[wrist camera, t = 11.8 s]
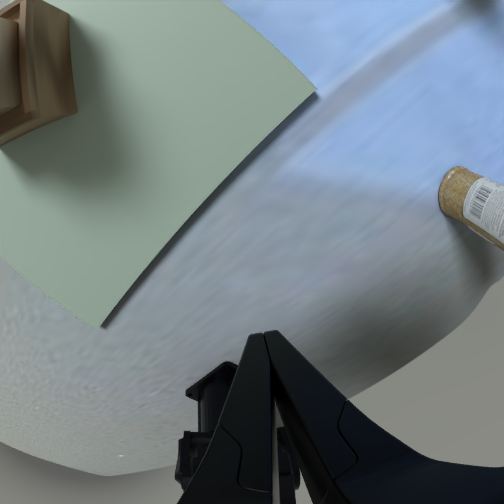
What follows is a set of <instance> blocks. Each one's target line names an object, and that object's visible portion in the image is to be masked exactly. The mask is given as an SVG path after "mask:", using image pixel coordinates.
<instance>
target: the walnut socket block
mask: <svg viewBox="0 0 504 504" xmlns="http://www.w3.org/2000/svg"><path fill="white" fill-rule="evenodd" d="M0 17H1V18H5V19H8V20H12V21H16V22H17V59H18V76H19V87H20V96H21V104H22V105H20V106H18V107H17V108H15V109H13V110H11V111H9V112H8V113H6V114H4V115H2V116H1V117H0V147H1V146H3V145H5V144H6V143H8V142H10V141H12V140H14V139H16V138H18V137H21V136H23V135H25V134H27V133H29V132H31V131H33V130H36V129H38V128H40V127H42V126H45V125H47V124H50V123H52V122H54V121H57V120H59V119H62V118H64V117H67V116H70V115H72V114H75V113H78V110H77V104H76V97H75V89H74V81H73V72H72V62H71V50H70V33H69V14H68V13H67V12H65V11H63V10H61V9H59V8H57V7H55V6H53V5H51V4H49V3H47V2H45V1H43V0H15V1H13V2H12V3H10V4H8V5H7V6H5V7H4V8H2V9H1V10H0Z"/></svg>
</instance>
